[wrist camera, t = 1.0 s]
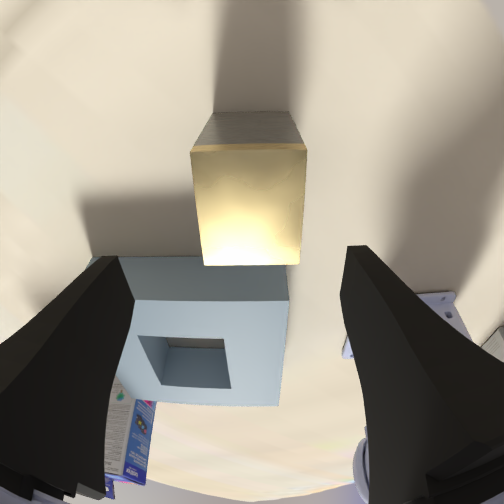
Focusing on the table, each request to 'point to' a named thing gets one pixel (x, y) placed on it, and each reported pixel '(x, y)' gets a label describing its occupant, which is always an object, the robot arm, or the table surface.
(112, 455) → the ink cartridge box
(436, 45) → the table surface
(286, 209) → the two-tone metal cube
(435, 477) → the robot arm
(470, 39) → the table surface
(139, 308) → the well block
